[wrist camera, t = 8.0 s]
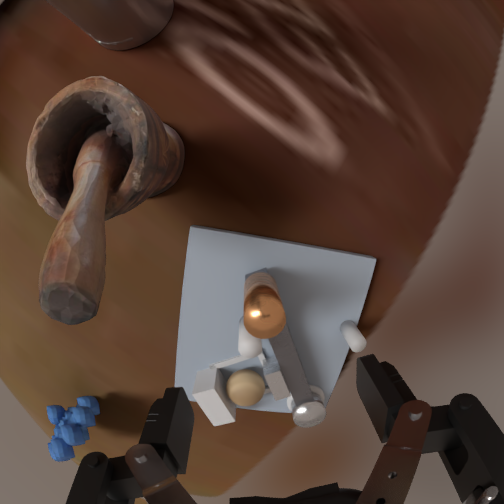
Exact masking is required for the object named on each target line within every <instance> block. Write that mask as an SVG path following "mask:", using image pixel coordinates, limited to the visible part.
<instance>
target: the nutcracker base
mask: <svg viewBox="0 0 504 504" xmlns="http://www.w3.org/2000/svg"><path fill="white" fill-rule="evenodd" d="M376 260H377V259H375V258H374V257H372V256H368V255H363V254H358V253H352V252H347V251H341V250H336V249H330V248H325V247H319V246H314V245H308V244H303V243H297V242H291V241H286V240H280V239H274V238H269V237H263V236H257V235H251V234H245V233H239V232H234V231H228V230H222V229H216V228H209V227H203V226H197V225H192V226H191V227H190V232H189V240H188V247H187V255H186V264H185V272H184V281H183V290H182V300H181V310H180V320H179V332H178V344H177V358H176V374H175V387H183V388H184V390H185V392H186V395H187V397H188V400H190V401H195V402H197V403H198V404H199V406H200V407H201V408H202V410H203V411H204V413H205V414H206V415H207V417H208V418H209V420H210V421H211V422H212V424H213V425H214V426H218V425H222V424H227V423H231V422H235V413H236V408H243V409H252V410H262V411H273V412H287V413H292V409H291V402H292V400H293V397H292V395H291V396H290V397H287V398H284V399H281V400H277V401H275V399H274V396H273V394H272V392H271V390H270V388H269V386H268V383H267V381H266V379H265V377H264V371H263V359H266V358H269V357H272V356H275V354H274V351H273V349H272V347H271V344H270V342H269V339H260V338H256V337H254V336H252V335H251V334H249V333H248V332H247V330H246V328H245V326H244V284H245V275H246V274H249V273H251V272H254V271H257V270H260V269H263V268H265V267H266V268H267V270H268V273H269V274H270V275H271V276H272V277H273V278H274V279H275V281H276V284H277V287H278V291H279V294H280V297H281V301H282V304H283V308H284V311H285V315H286V322H287V325H288V328H289V330H290V333H291V336H292V339H293V341H294V344H295V347H296V350H297V352H298V355H299V358H300V361H301V363H302V366H303V369H304V372H305V374H306V377H307V380H308V383H309V385H310V388H311V391H312V392H316V393H318V394H319V395H320V396H321V398H322V401H323V404H324V407H325V408H326V406H327V403H328V401H329V399H330V396H331V394H332V391H333V389H334V387H335V384H336V382H337V379H338V377H339V374H340V371H341V369H342V366H343V364H344V361H345V358H346V355H347V353H348V350H349V347H350V348H351V350H352V351H353V352H360V351H362V350H363V349H364V348H365V346H366V344H367V342H366V340H365V338H364V337H363V335H362V334H361V333H360V331H359V330H358V328H357V324H358V321H359V318H360V315H361V312H362V308H363V305H364V302H365V299H366V295H367V292H368V289H369V285H370V282H371V278H372V275H373V271H374V267H375V263H376ZM242 369H249V370H253V371H255V372H257V373H258V374H259V375H260V376H261V377H262V379H263V381H264V383H265V392H264V395H263V397H262V398H261V400H260V401H259V402H257V403H256V404H254V405H251V406H240V405H237V404H235V403H234V402H232V401H231V400H230V398H229V397H228V395H227V392H226V383H227V381H228V379H229V377H230V376H231V375H232V374H233V373H234V372H236V371H238V370H242ZM290 394H291V392H290Z"/></svg>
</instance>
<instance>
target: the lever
mask: <svg viewBox="0 0 504 504" xmlns="http://www.w3.org/2000/svg"><path fill="white" fill-rule="evenodd" d="M244 326H245V328H246V330H247V332H248V333H249V334H251V335H252V336H254V337H256V338H260V339H269V342H270V344H271V347H272V349H273V351H274V354H275V356H272V357H269V358H266V359H263V371H264V377H265V379H266V381H267V383H268V386H269V388H270V390H271V392H272V394H273V396H274V399H275V401H277V400H281V399H284V398H287V397H290V396H291V395H292V397H293V400H292V402H291V409H292V414H293V419H294V422H295V424H296V425H298V426H300V427H312V426H315V425H318V424H319V423H321V422H322V421H323V420H324V419H325V417H326V410H325V407H324V404H323V401H322V398H321V396H320V395H319V394H318V393H316V392H312V391H311V388H310V385H309V383H308V380H307V377H306V374H305V372H304V369H303V366H302V363H301V361H300V358H299V355H298V352H297V350H296V347H295V344H294V341H293V339H292V336H291V333H290V330H289V328H288V325H287V322H286V315H285V311H284V308H283V304H282V301H281V297H280V294H279V291H278V287H277V284H276V281H275V279H274V278H273V277H272V276H271V275H270V274H269V273H268V270H267V268H266V267H265V268H263V269H260V270H257V271H254V272H251V273H249V274H246V275H245V284H244ZM290 392H291V394H290Z"/></svg>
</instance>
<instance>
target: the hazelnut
mask: <svg viewBox="0 0 504 504" xmlns="http://www.w3.org/2000/svg"><path fill="white" fill-rule="evenodd" d="M226 392H227V395H228V397H229V398H230V400H231V401H232V402H234V403H235V404H237V405H240V406H251V405H254V404H256V403H257V402H259V401H260V400H261V398H262V397H263V395H264V392H265V383H264V381H263V379H262V377H261V376H260V375H259V374H258V373H257V372H255V371H253V370H249V369H242V370H238V371H236V372H234V373H233V374H232V375H231V376H230V377H229V379H228V381H227V383H226Z"/></svg>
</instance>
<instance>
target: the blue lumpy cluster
mask: <svg viewBox="0 0 504 504" xmlns="http://www.w3.org/2000/svg"><path fill="white" fill-rule="evenodd" d="M77 403H78V405H76V407H68V410H67V411H65V409H64V408H63V407H62V406H59V405H51V406H47V413H48V418H49V420H50V421H51V423H52V424H55V425H56V426H55V429H54V433H55V435H53V436H52V439H51V442H50V443H48V448H49V452H50V455H51V457H52V458H53V459H54V460H55V461H67V460H70V459H71V458H74V457H75V455H74V451H73V447H72V446H77V445H82V444H85V441H86V440H89V439H90V438H89V433H88V429H87V427H92V426H95V425H96V424H95V417H94V415H98V414H100V408H99V403H98V401H97V399H96V398H95V397H93V396H83V397H79V398H77Z"/></svg>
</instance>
